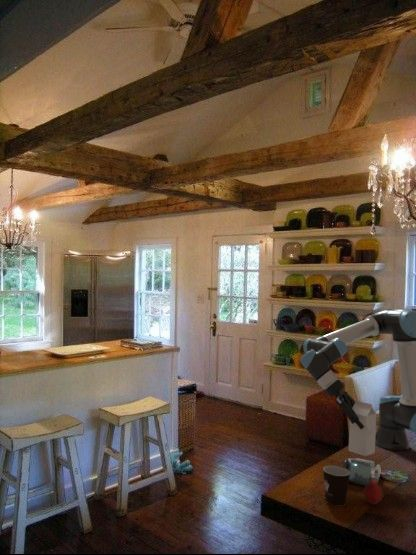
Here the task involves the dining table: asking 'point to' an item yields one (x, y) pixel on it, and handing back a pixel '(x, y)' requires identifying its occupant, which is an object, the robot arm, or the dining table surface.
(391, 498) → the dining table surface
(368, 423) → the milk carton
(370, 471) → the motor
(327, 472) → the coffee mug
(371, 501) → the onion
